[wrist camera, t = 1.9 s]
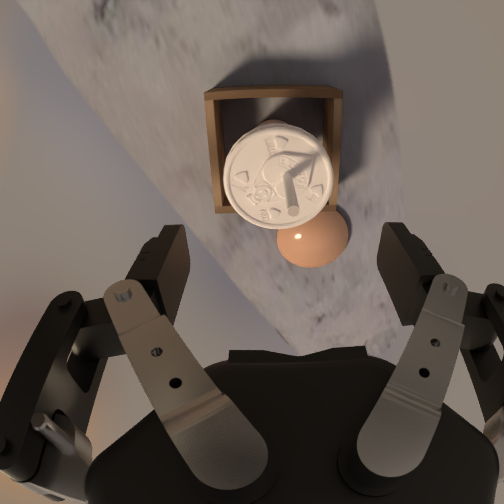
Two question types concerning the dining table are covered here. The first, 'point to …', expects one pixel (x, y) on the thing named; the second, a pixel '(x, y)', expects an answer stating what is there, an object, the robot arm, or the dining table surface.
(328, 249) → the coaster
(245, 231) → the dining table surface
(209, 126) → the caddy
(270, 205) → the smoothie
